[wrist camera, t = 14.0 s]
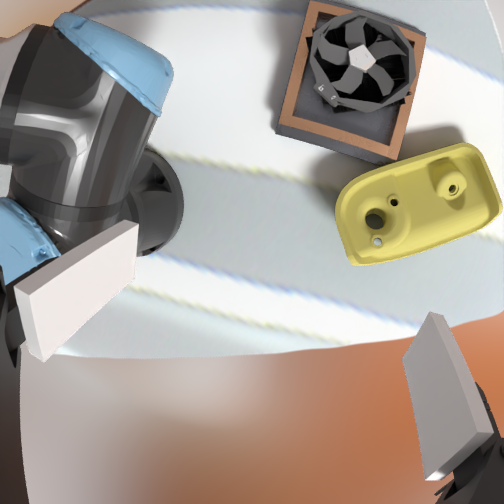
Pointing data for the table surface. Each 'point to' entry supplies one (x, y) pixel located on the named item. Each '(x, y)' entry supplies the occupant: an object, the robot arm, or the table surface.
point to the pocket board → (322, 118)
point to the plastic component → (417, 204)
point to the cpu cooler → (361, 63)
